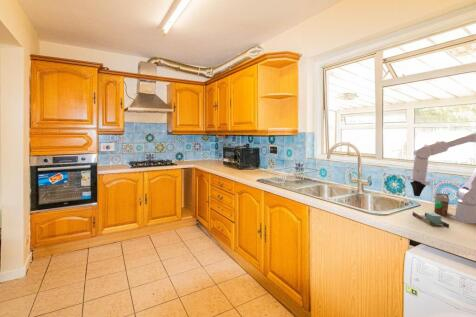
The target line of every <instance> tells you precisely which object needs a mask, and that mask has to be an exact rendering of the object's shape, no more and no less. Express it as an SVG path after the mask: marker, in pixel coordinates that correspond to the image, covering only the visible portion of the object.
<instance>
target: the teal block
mask: <svg viewBox="0 0 476 317" xmlns="http://www.w3.org/2000/svg"><path fill="white" fill-rule="evenodd" d="M425 213H426V219H428V220H430V221H431V222H433V223H435V224H438V225H440V224H441V221H442V217H443V216H442V215H439V214H436V213H435V212H434V213H433V212H425Z"/></svg>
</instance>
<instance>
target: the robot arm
mask: <svg viewBox="0 0 476 317" xmlns="http://www.w3.org/2000/svg"><path fill="white" fill-rule="evenodd" d="M466 143H476V131H475V132H471V133H467V134H464V135H461V136H459V137H458V136H457V137H456V138H453V139H450V140H447V141H444V140H439V139H437V140H435V141H434V142H432V143H429V144H428V143H427V144H426V143H425V144H424V145H423V146H418V147H416V148H415V149H414V151H413V155H414V161H413V166H412V167H413V168H412V175H408V176H407V177H408V178H407V180H410V183H409V184H410V186H411V187H412V192H413V196H414V197H421V194H422V192H423V190H424V189H425V188H426V186H431V181H430V180H428V179H427V173H428V164H429V158H430V157H431V156H435V155H438V154H441V153H445V152H448V149H450V148H452V147H456V146H457V147H458V146H460V145H464V144H466ZM456 197H457V198H458V199H457V201H456V208H455V213H454V216H451V215H450V216H449V217H450V218H451V219H453V220H456V221H458V222H460V223H463V224H476V168H475V169H474V171H473V172H472V174H471V175H470V177H469V179H468V180H467V182H465V183H464V184H463V185H462V186H461V187H460V188H459V189H457V190H456Z"/></svg>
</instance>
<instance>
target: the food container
mask: <svg viewBox="0 0 476 317" xmlns="http://www.w3.org/2000/svg"><path fill="white" fill-rule="evenodd" d="M433 199H434V210H433V211H434V213H436V214H438V215H440V216H442V217H443V216H444V217H447V216H448V212H449V211H448V210H449V205H450V204H449V203H450V196H449V193H439V192H436V193H435V194H434V195H433Z"/></svg>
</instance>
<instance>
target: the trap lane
mask: <svg viewBox="0 0 476 317" xmlns="http://www.w3.org/2000/svg"><path fill="white" fill-rule="evenodd" d="M426 213H427V212H424V215H420V214H418V213H416V212H414V211H412V214H411V215H412V216H414V217H416V218H417V219H419V220H421V221H423V222H424V223H425V224H428V225H430V226H432V227H434V228H445V229H446V228H447V229H448V228H450V224H449V223H447V222H446V221H443V220H441V224H440V225H438V224H435V223H433V222H431V221H430V220H428V219H426Z"/></svg>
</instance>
